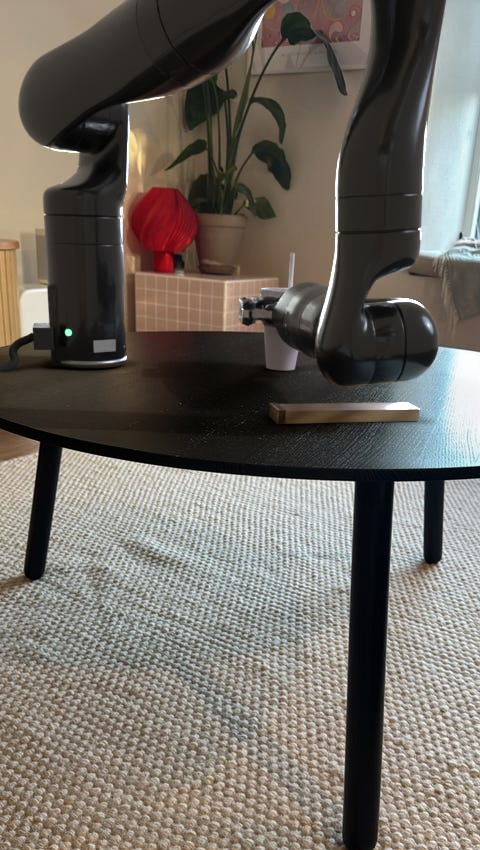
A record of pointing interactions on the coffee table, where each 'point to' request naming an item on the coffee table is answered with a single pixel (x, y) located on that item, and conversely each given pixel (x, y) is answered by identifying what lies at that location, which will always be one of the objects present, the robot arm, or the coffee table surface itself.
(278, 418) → the batten
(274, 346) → the smoothie
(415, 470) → the coffee table surface
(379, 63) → the robot arm
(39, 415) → the coffee table surface
